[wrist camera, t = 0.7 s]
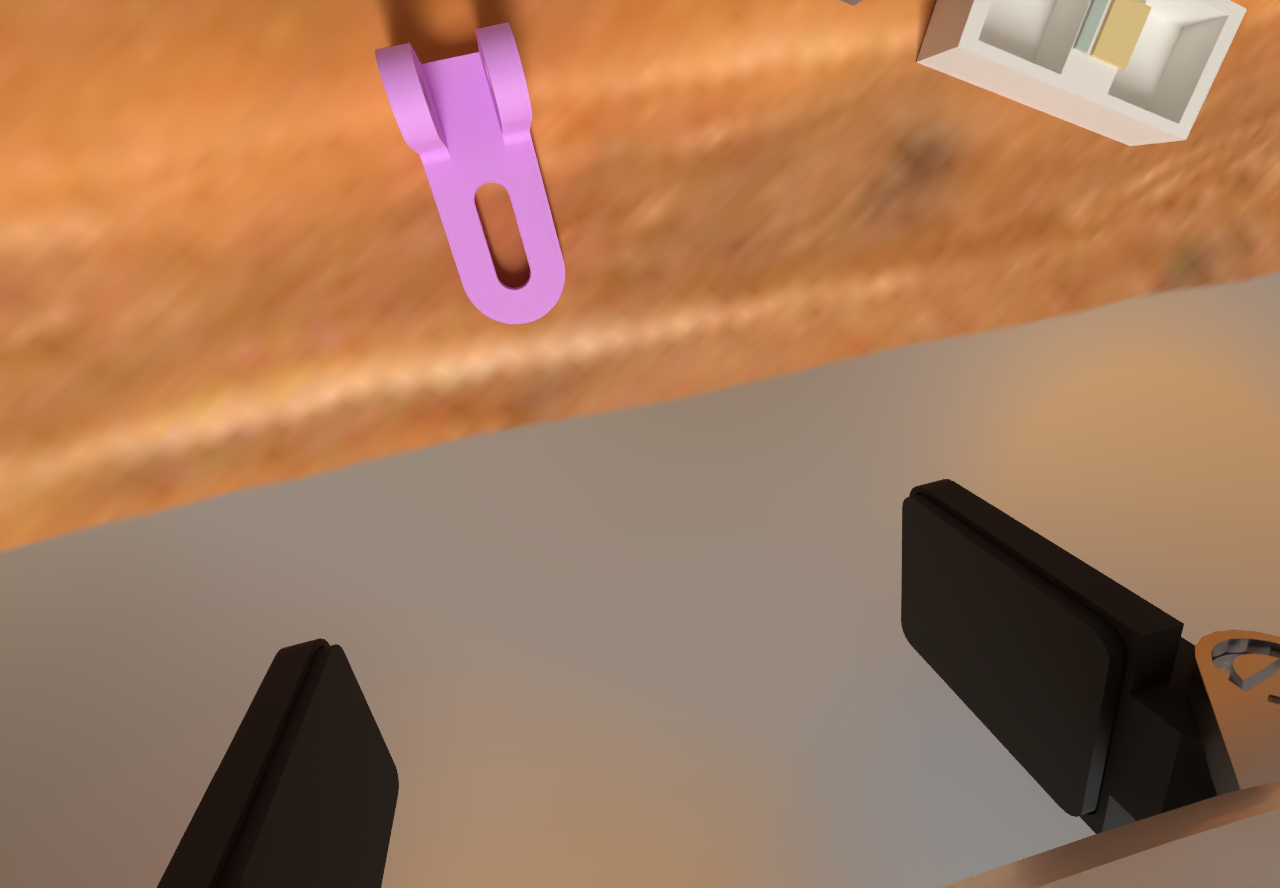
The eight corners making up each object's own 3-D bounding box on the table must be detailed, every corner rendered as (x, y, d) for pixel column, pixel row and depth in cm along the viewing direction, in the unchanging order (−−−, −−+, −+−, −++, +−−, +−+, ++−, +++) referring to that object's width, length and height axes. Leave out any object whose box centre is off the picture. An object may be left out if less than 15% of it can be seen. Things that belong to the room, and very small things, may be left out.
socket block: (964, -83, 33) (1017, -118, 29) (1184, 23, 37) (1252, 3, 34) (916, 62, 35) (960, 45, 31) (1130, 146, 39) (1189, 139, 36)
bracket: (396, 76, 30) (368, 38, 24) (507, 53, 31) (507, 10, 24) (480, 330, 35) (474, 356, 29) (573, 306, 36) (588, 326, 29)
